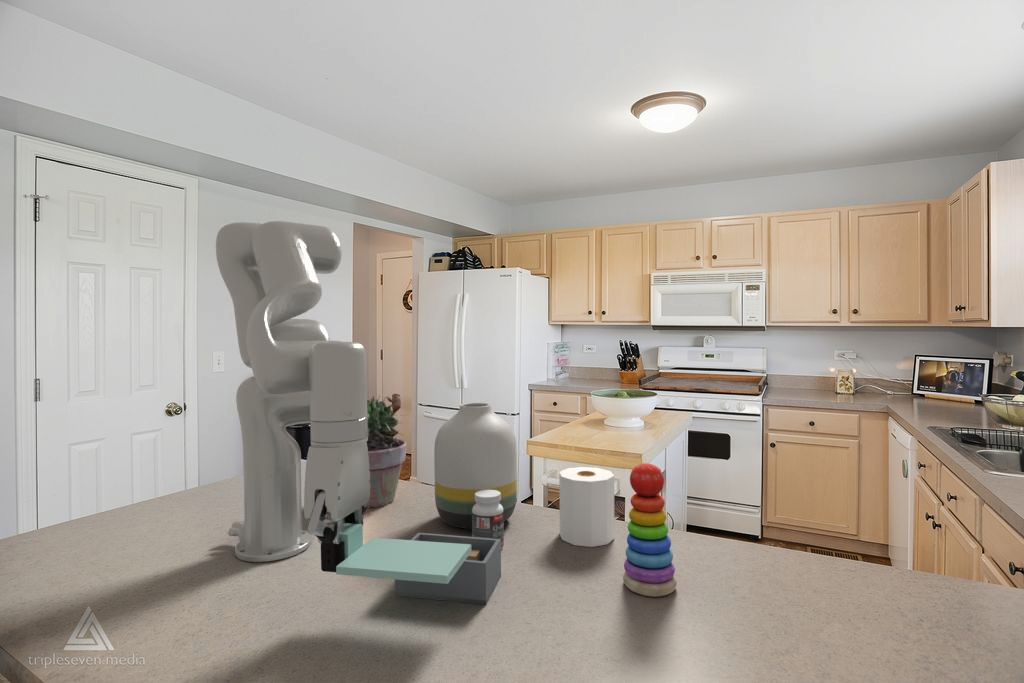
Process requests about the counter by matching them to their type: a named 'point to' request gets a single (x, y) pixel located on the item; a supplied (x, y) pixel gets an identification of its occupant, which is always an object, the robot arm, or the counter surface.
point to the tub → (461, 572)
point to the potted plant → (384, 450)
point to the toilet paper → (586, 506)
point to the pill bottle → (488, 516)
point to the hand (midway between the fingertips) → (342, 562)
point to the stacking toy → (648, 536)
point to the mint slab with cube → (399, 557)
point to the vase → (474, 463)
